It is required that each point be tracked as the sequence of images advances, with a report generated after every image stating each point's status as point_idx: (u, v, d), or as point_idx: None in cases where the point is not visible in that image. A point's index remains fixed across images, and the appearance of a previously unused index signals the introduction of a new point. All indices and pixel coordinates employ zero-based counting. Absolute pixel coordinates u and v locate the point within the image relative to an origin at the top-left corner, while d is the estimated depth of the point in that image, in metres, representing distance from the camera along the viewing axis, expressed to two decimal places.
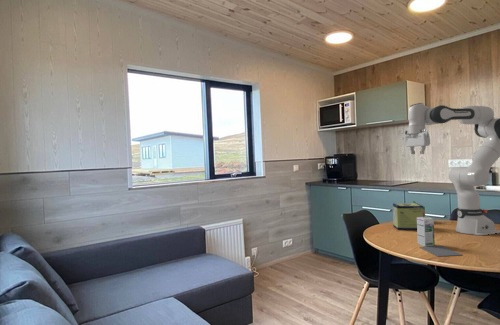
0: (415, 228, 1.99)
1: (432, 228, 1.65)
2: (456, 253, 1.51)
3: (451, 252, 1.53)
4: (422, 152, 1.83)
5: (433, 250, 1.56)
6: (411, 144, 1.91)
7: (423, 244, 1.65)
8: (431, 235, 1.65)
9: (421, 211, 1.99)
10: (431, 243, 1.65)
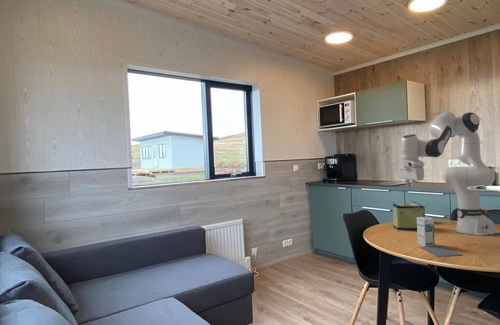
0: (415, 228, 1.99)
1: (432, 228, 1.65)
2: (456, 253, 1.51)
3: (451, 252, 1.53)
4: None
5: (433, 250, 1.56)
6: None
7: (423, 244, 1.65)
8: (431, 235, 1.65)
9: (421, 211, 1.99)
10: (431, 243, 1.65)
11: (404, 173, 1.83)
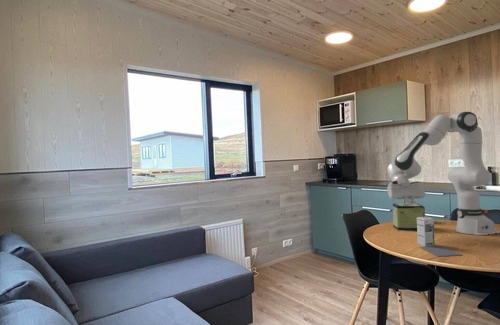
0: (415, 228, 1.99)
1: (432, 228, 1.65)
2: (456, 253, 1.51)
3: (451, 252, 1.53)
4: None
5: (433, 250, 1.56)
6: (403, 194, 1.82)
7: (423, 244, 1.65)
8: (431, 235, 1.65)
9: (421, 211, 1.99)
10: (431, 243, 1.65)
11: None
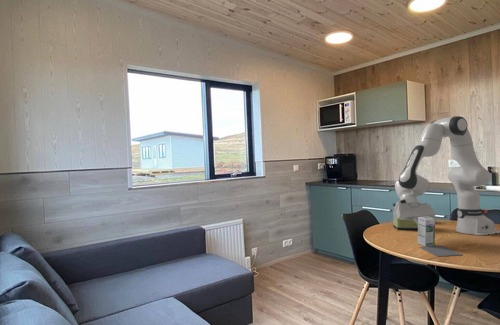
0: (415, 228, 1.99)
1: (433, 228, 1.64)
2: (456, 253, 1.51)
3: (451, 252, 1.53)
4: None
5: (433, 250, 1.56)
6: (412, 214, 1.73)
7: (423, 244, 1.65)
8: (431, 235, 1.64)
9: None
10: (431, 243, 1.65)
11: None
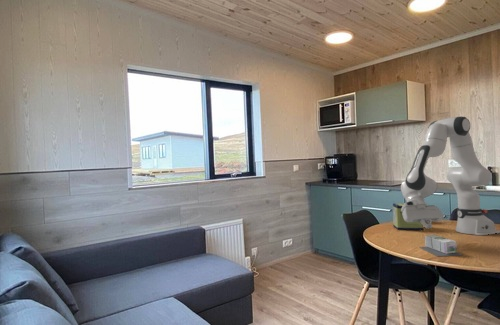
0: (415, 228, 1.99)
1: None
2: (456, 253, 1.51)
3: None
4: None
5: (433, 250, 1.56)
6: (420, 216, 1.66)
7: (426, 244, 1.63)
8: None
9: None
10: None
11: None
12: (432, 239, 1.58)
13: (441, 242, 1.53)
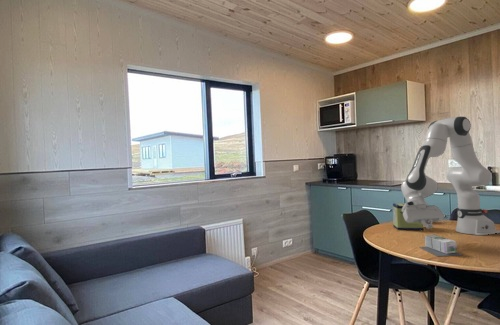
0: (415, 228, 1.99)
1: None
2: (456, 253, 1.51)
3: None
4: None
5: (433, 250, 1.56)
6: (420, 216, 1.66)
7: (426, 244, 1.63)
8: None
9: None
10: None
11: None
12: (432, 239, 1.58)
13: (441, 242, 1.53)
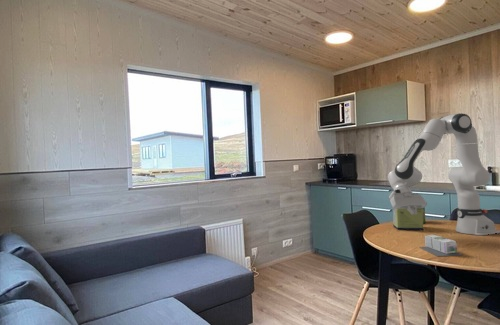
0: (415, 228, 1.99)
1: None
2: (456, 253, 1.51)
3: None
4: None
5: (433, 250, 1.56)
6: (406, 203, 1.80)
7: (426, 244, 1.63)
8: None
9: (421, 211, 1.99)
10: None
11: None
12: (432, 239, 1.58)
13: (441, 242, 1.53)
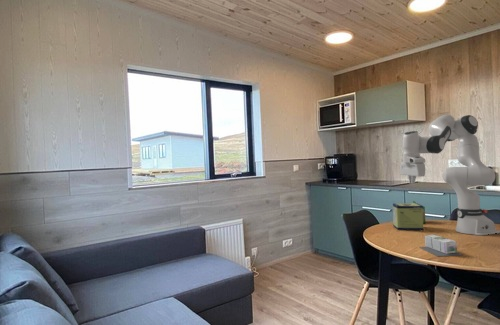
0: (415, 228, 1.99)
1: None
2: (456, 253, 1.51)
3: None
4: None
5: (433, 250, 1.56)
6: None
7: (426, 244, 1.63)
8: None
9: (421, 211, 1.99)
10: None
11: (405, 169, 1.85)
12: (432, 239, 1.58)
13: (441, 242, 1.53)
